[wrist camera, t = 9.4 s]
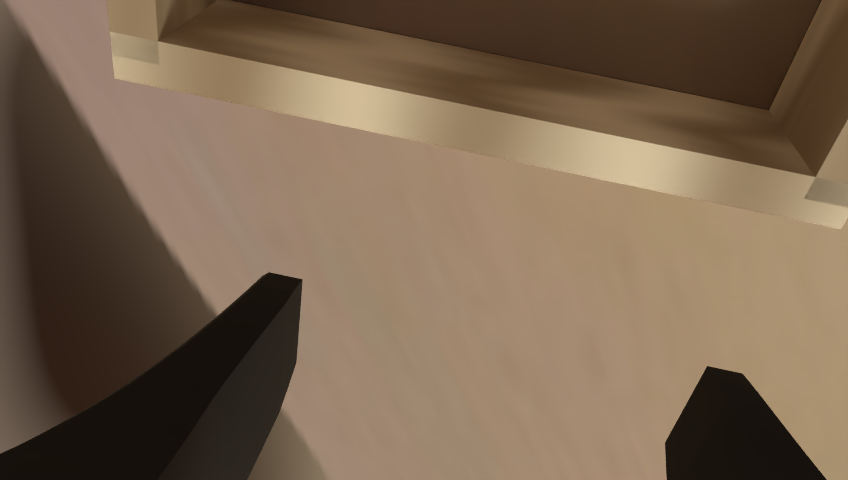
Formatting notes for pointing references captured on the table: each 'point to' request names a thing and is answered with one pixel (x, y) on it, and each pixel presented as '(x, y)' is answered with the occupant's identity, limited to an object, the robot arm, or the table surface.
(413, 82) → the corral
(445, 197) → the table surface
